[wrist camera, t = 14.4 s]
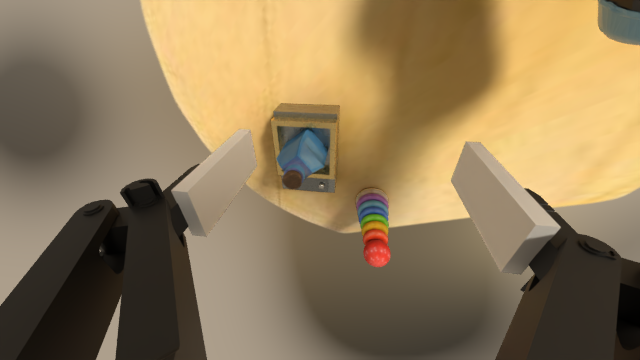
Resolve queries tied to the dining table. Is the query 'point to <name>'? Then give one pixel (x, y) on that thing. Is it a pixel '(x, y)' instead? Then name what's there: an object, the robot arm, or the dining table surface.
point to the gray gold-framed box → (326, 129)
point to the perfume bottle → (301, 158)
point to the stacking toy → (374, 225)
